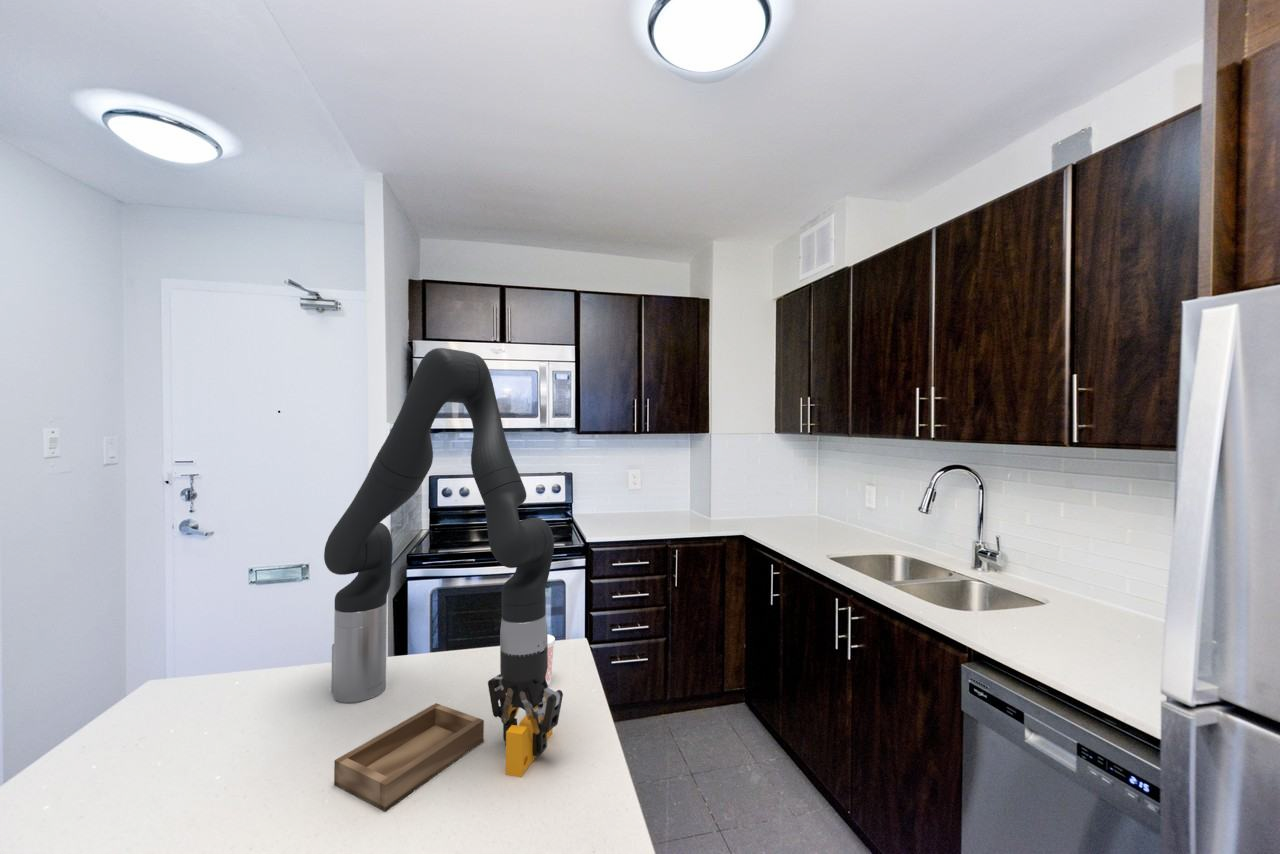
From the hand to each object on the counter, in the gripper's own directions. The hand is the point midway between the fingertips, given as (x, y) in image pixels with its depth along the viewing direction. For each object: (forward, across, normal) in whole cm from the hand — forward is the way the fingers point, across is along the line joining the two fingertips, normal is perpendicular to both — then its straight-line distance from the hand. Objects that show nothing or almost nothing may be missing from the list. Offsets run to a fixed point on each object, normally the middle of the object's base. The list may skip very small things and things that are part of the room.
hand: (524, 748), depth 85 cm
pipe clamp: (+1, 0, 0) cm, 1 cm away
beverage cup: (+1, -13, +20) cm, 24 cm away
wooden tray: (0, -14, -10) cm, 17 cm away
